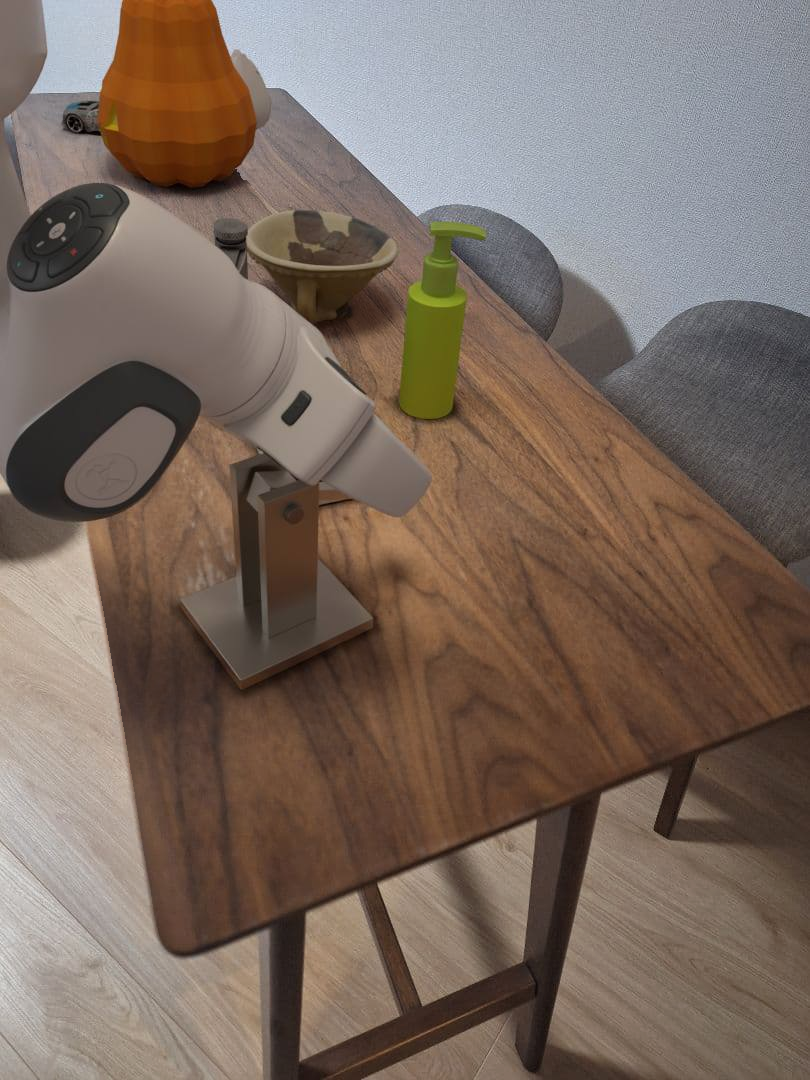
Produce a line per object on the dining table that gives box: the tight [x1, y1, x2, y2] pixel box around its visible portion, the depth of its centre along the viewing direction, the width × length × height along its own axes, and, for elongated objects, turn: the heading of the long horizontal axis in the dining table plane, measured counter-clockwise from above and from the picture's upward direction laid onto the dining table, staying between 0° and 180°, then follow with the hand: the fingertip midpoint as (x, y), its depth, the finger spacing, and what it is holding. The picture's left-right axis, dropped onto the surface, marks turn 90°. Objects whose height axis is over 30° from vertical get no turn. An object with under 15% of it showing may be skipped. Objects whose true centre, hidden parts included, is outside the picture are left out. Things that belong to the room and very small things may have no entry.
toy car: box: [61, 99, 100, 134], centre depth 154 cm, size 7×17×5 cm, turn 80°
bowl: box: [246, 209, 399, 325], centre depth 111 cm, size 18×18×10 cm
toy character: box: [230, 48, 273, 131], centre depth 159 cm, size 10×10×12 cm
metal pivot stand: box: [179, 453, 374, 691], centre depth 69 cm, size 12×10×15 cm
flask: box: [213, 217, 249, 280], centre depth 93 cm, size 4×14×18 cm, turn 6°
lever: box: [247, 471, 353, 512], centre depth 70 cm, size 15×4×4 cm, turn 127°
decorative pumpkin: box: [97, 0, 257, 189], centre depth 134 cm, size 24×24×30 cm
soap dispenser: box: [398, 221, 487, 420], centre depth 93 cm, size 6×7×20 cm
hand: (375, 451), depth 69 cm, fingers closed
